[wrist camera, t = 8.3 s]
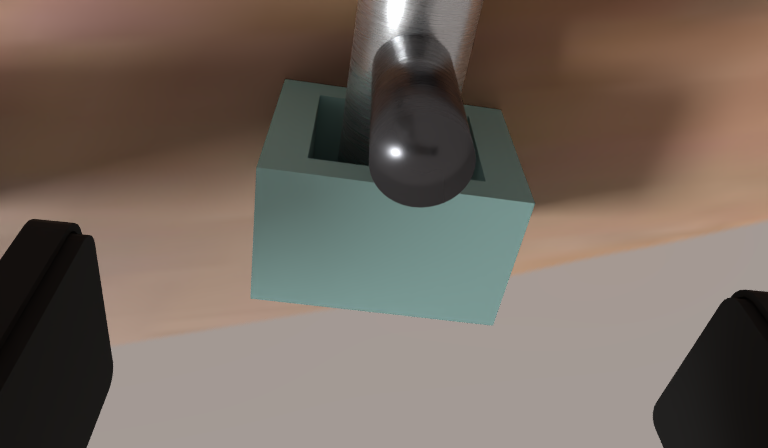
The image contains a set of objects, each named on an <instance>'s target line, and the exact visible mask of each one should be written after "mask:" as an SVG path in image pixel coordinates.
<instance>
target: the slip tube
mask: <svg viewBox="0 0 768 448" xmlns="http://www.w3.org/2000/svg"><path fill="white" fill-rule="evenodd" d="M482 4H483V0H358V5H357V13H356V21H355V28H354V36H353V44H352V52H351V60H350V67H349V75H348V83H347V91H346V99H345V106H344V114H343V122H342V130H341V138H340V146H339V153H338V161H337V162H341V163H348V164H356V165H364V166H369V169H370V174H371V177H372V179H373V181H374V183H375V185H376V186H377V187H378V189H379V190H380V191H381V192H382V193H383V194H384V195H385V196H387V197H388V198H389V199H391V200H393V201H394V202H397V203H399V204H402V205H405V206H409V207H418V208H422V207H432V206H436V205H440V204H442V203H445V202H447V201H449V200H451V199H452V198H454V197H455V196H457V195H458V194H459V193H460V192H461V191H462V190H463V189H464V188H465V187H466V186H467V184H468V183H469V182H470V180H471V178H472V176H473V173H474V170H475V165H476V153H475V148H474V144H473V141H472V137H471V133H470V129H469V125H468V121H467V117H466V113H465V109H464V105H463V101H462V97H461V92H462V88H463V84H464V80H465V76H466V72H467V67H468V63H469V59H470V55H471V51H472V46H473V42H474V38H475V34H476V30H477V25H478V21H479V17H480V13H481V9H482Z"/></svg>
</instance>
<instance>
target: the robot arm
mask: <svg viewBox="0 0 768 448" xmlns="http://www.w3.org/2000/svg"><path fill="white" fill-rule="evenodd" d="M112 374H113V360H112V354H111V347H110V340H109V334H108V327H107V320H106V314H105V307H104V300H103V294H102V287H101V281H100V274H99V267H98V261H97V254H96V248H95V242H94V239H93V237H92V236H90V235H82V233H81V229H80V227H79V226H78V224H76V223H69V222H59V221H49V220H39V219H32V220H29V221H28V222H27V223H26V224H25V225H24V226H23V228H22V229H21V231H20V232H19V234H18V235H17V236H16V238H15V239H14V241H13V242H12V244H11V245H10V246H9V248H8V249H7V251H6V252H5V254H4V255H3V257H2V258H1V259H0V448H86V447H87V445H88V442H89V440H90V437H91V435H92V432H93V429H94V427H95V424H96V421H97V419H98V417H99V414H100V411H101V409H102V406H103V404H104V401H105V399H106V396H107V393H108V391H109V388H110V385H111V380H112ZM653 421H654V426H655V429H656V431H657V434H658V436H659V438H660V440H661V443H662V445H663V447H664V448H768V292H763V291H753V290H739V291H737V292H735V293H734V294H733V295H732V296H731V298H727V299H726V300H724V301H723V302H722V303H721V304H720V306H719V307H718V309H717V310H716V312H715V314H714V315H713V317H712V318H711V320H710V321H709V323H708V324H707V326H706V327H705V329H704V330H703V332H702V333H701V335H700V336H699V338H698V340H697V341H696V343H695V344H694V346H693V347H692V349H691V350H690V352H689V353H688V355H687V356H686V358H685V360H684V361H683V363H682V364H681V366H680V367H679V369H678V370H677V372H676V373H675V375H674V376H673V378H672V379H671V381H670V382H669V384H668V386H667V387H666V389H665V390H664V392H663V393H662V395H661V396H660V398H659V399H658V401H657V403H656V405H655V406H654V411H653Z"/></svg>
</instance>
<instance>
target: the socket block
mask: <svg viewBox="0 0 768 448" xmlns="http://www.w3.org/2000/svg"><path fill="white" fill-rule="evenodd" d="M346 91H347V88H345V87H338V86H331V85H324V84H317V83H310V82H303V81H296V80H289V79H285V81H284V84H283V87H282V90H281V93H280V96H279V99H278V103H277V106H276V109H275V112H274V115H273V118H272V121H271V124H270V127H269V130H268V133H267V136H266V140H265V143H264V146H263V149H262V152H261V155H260V158H259V161H258V164H257V167H256V190H255V212H254V234H253V256H252V278H251V299H260V300H269V301H278V302H287V303H296V304H305V305H314V306H323V307H332V308H341V309H350V310H360V311H368V312H377V313H386V314H395V315H404V316H412V317H422V318H430V319H439V320H449V321H457V322H466V323H475V324H484V325H493V323H494V321H495V318H496V315H497V312H498V309H499V306H500V303H501V300H502V297H503V294H504V292H505V289H506V286H507V283H508V280H509V277H510V274H511V271H512V269H513V266H514V263H515V260H516V257H517V254H518V251H519V248H520V245H521V242H522V240H523V237H524V234H525V231H526V228H527V225H528V222H529V219H530V216H531V214H532V211H533V208H534V205H535V202H534V200H533V197H532V194H531V191H530V189H529V186H528V183H527V180H526V178H525V175H524V172H523V169H522V167H521V164H520V161H519V158H518V156H517V153H516V150H515V147H514V145H513V142H512V139H511V136H510V134H509V131H508V128H507V125H506V123H505V120H504V117H503V114H502V112H501V110H499V109H492V108H485V107H478V106H471V105H464V104H463V105H464V109H465V113H466V117H467V121H468V125H469V129H470V133H471V137H472V141H473V144H474V148H475V153H476V165H475V170H474V173H473V176H472V178H471V180H470V182H469V183H468V184H467V186H466V187H465V188H464V189H463V190H462V191H461V192H460V193H459V194H458V195H457V196H455V197H454V198H452V199H451V200H449V201H447V202H445V203H442V204H440V205H436V206H432V207H422V208H418V207H409V206H405V205H402V204H399V203H397V202H394V201H393V200H391V199H389V198H388V197H387V196H385V195H384V194H383V193H382V192H381V191H380V190H379V189H378V187H377V186H376V185H375V183H374V181H373V179H372V177H371V174H370V169H369V166H364V165H356V164H348V163H341V162H337V161H338V153H339V146H340V138H341V130H342V122H343V114H344V106H345V99H346Z"/></svg>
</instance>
